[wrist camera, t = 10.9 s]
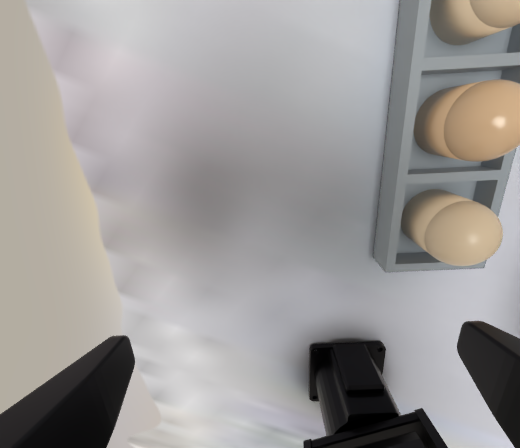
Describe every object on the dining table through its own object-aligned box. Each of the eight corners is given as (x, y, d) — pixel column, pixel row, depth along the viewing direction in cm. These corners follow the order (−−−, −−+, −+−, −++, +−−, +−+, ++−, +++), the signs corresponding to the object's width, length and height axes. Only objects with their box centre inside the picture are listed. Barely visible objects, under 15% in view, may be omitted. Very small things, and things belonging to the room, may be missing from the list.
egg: (470, 153, 18) (546, 165, 13) (408, 156, 18) (462, 168, 13) (486, 85, 16) (577, 70, 12) (418, 88, 16) (483, 74, 12)
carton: (462, 253, 21) (529, 297, 16) (373, 257, 21) (410, 302, 16) (538, -76, 14) (701, -193, 9) (406, -67, 14) (492, -178, 9)
